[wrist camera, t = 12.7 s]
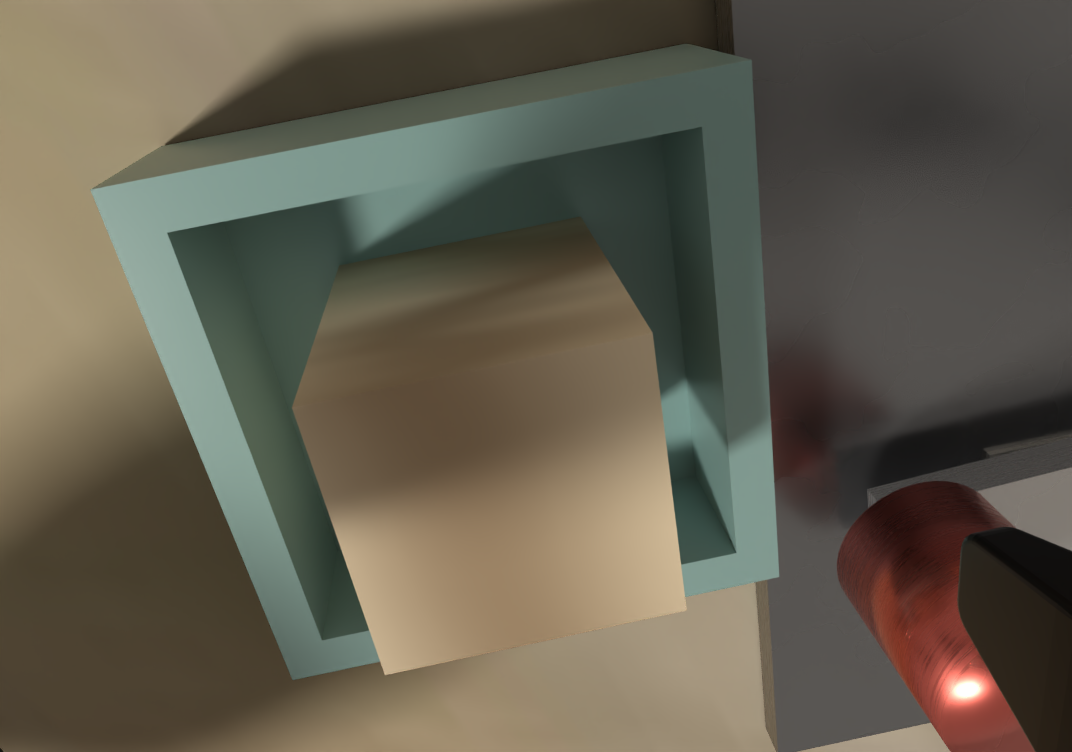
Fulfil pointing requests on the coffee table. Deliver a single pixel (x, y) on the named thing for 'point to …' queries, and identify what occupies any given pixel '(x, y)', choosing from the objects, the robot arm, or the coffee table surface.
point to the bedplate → (897, 292)
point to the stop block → (492, 445)
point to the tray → (444, 217)
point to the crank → (949, 579)
